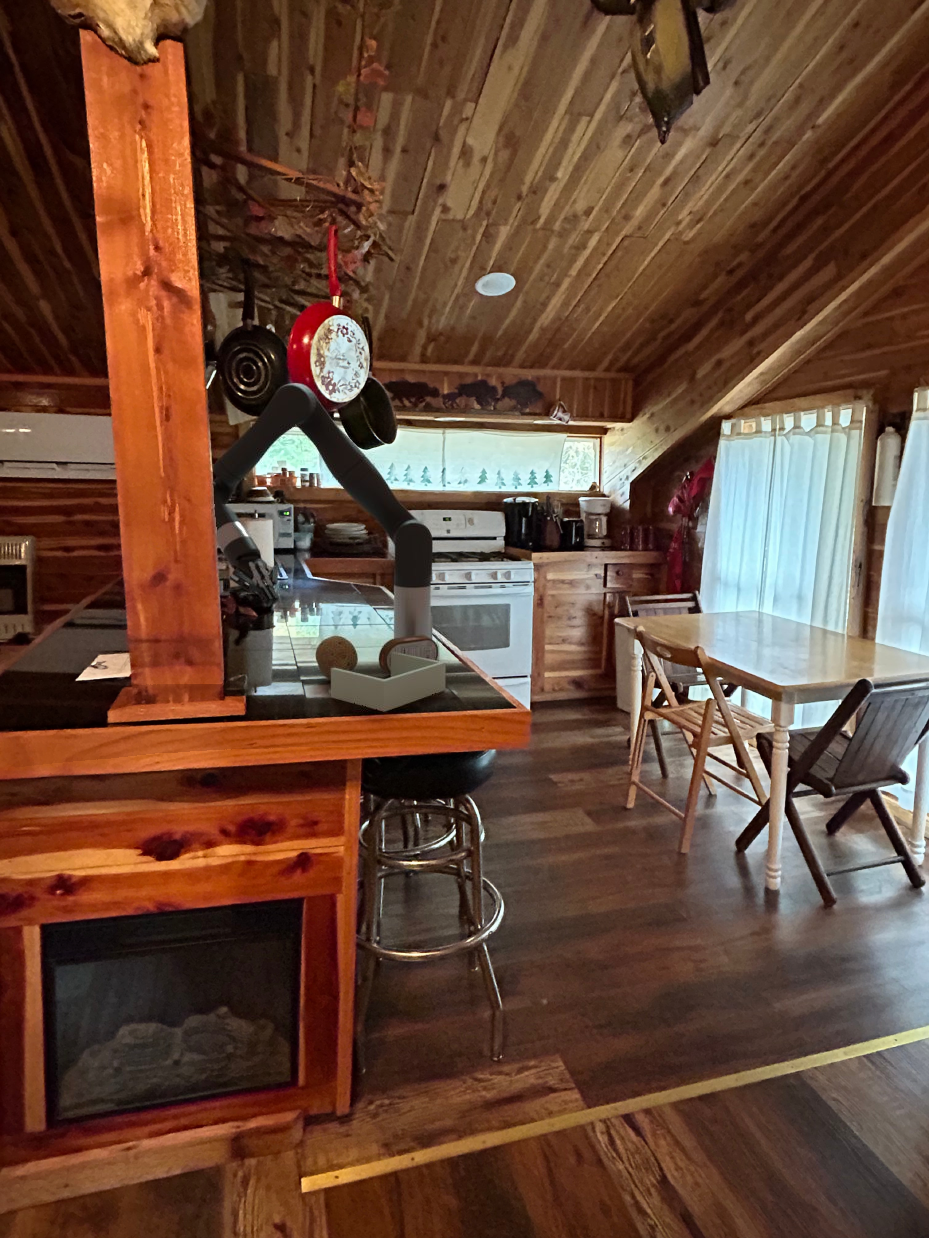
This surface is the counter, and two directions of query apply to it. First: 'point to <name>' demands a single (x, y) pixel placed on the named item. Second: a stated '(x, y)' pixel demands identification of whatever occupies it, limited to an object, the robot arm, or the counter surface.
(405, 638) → the tin
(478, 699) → the counter surface
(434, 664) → the box
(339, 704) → the counter surface
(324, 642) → the natural sponge
